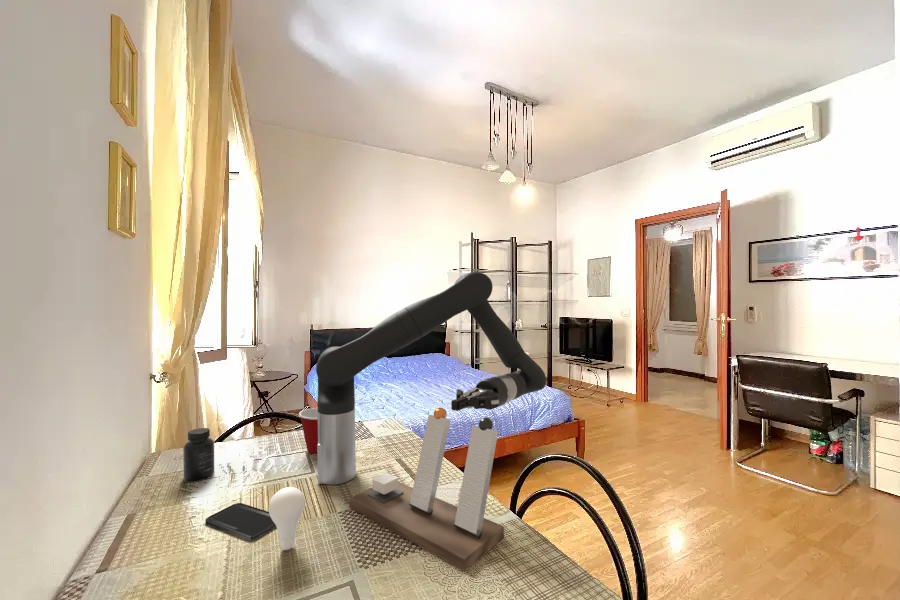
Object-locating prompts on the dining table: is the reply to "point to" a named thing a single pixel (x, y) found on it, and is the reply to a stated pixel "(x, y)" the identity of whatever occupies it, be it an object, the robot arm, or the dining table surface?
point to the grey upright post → (476, 478)
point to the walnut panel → (427, 525)
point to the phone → (242, 521)
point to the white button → (385, 483)
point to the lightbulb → (287, 514)
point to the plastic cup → (310, 429)
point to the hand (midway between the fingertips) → (453, 406)
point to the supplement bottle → (198, 455)
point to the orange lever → (430, 462)
